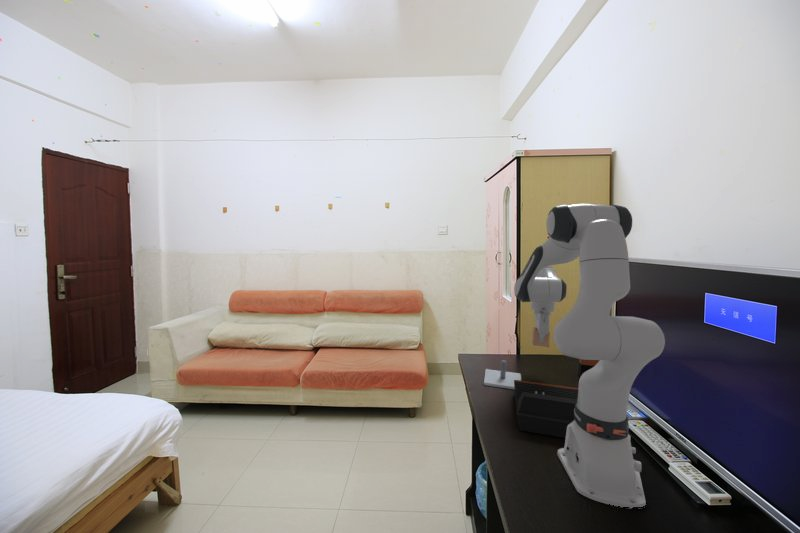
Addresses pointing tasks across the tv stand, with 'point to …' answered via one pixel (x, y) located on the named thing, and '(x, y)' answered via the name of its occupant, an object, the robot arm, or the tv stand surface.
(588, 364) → the battery
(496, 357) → the tv stand surface
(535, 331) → the open-ended wooden box
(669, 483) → the tv stand surface
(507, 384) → the keeper dock
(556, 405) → the video game console
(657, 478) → the tv stand surface
